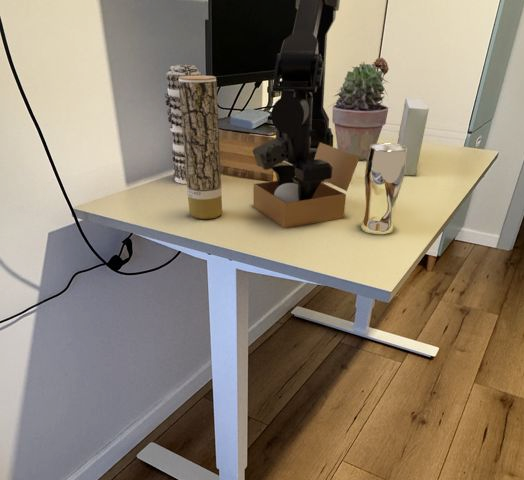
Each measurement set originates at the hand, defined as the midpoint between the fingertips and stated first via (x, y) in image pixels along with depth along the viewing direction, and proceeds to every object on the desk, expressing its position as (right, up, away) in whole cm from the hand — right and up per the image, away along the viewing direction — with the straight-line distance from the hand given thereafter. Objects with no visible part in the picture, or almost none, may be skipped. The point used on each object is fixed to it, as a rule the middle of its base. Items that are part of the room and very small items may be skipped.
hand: (293, 205), depth 102 cm
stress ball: (0, -1, +1) cm, 1 cm away
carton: (+1, -1, +1) cm, 2 cm away
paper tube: (-18, -2, 0) cm, 18 cm away
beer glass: (+16, -7, -7) cm, 18 cm away
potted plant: (+20, +27, +43) cm, 54 cm away
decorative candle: (-24, +13, +22) cm, 35 cm away
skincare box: (+33, +21, +34) cm, 52 cm away
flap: (+8, +8, -1) cm, 11 cm away
